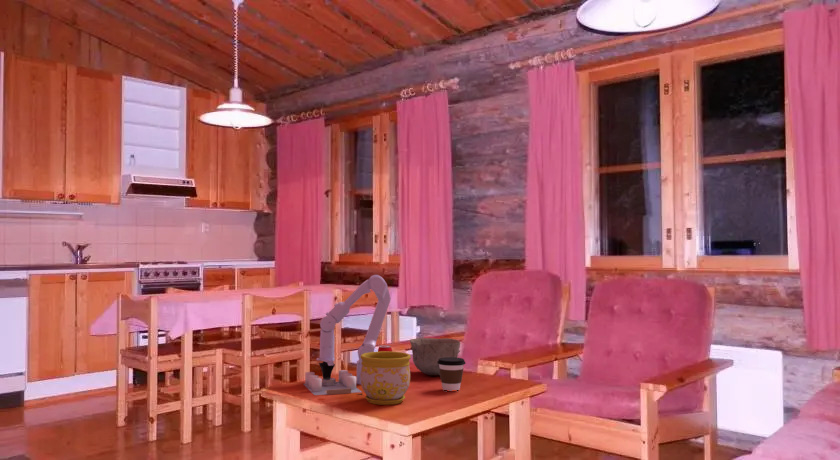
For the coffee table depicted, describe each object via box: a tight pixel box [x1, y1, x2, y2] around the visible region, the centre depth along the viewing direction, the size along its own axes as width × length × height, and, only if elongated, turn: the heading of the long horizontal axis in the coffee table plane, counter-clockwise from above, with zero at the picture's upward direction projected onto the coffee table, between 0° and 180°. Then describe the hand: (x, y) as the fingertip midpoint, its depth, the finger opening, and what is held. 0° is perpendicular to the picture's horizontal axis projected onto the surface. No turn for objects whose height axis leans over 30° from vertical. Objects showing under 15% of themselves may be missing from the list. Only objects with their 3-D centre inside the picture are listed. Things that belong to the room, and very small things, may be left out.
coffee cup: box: [437, 356, 466, 391], centre depth 257 cm, size 11×11×12 cm
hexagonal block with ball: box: [322, 377, 337, 387], centre depth 259 cm, size 5×5×3 cm
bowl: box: [409, 337, 461, 376], centre depth 289 cm, size 22×22×15 cm
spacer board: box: [303, 369, 363, 396], centre depth 254 cm, size 18×23×6 cm
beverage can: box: [377, 344, 393, 352], centre depth 291 cm, size 6×6×12 cm
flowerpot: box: [360, 351, 412, 406], centre depth 237 cm, size 18×18×16 cm
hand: (326, 381), depth 263 cm, fingers closed
